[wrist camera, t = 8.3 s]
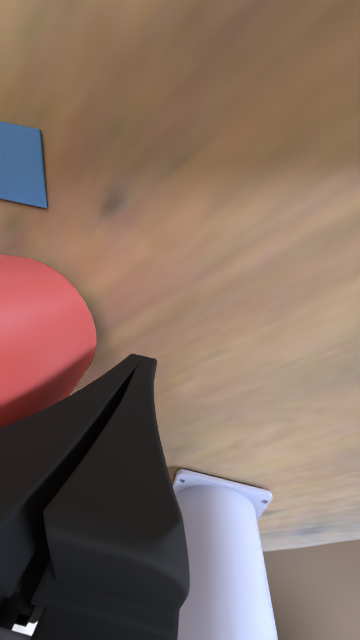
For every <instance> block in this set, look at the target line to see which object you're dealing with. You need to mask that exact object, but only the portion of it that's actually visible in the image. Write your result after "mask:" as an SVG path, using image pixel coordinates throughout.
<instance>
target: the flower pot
mask: <svg viewBox="0 0 360 640" xmlns="http://www.w3.org/2000/svg"><path fill="white" fill-rule="evenodd" d="M96 344H97V337H96V330H95V325H94V322H93V318H92V316H91V313H90V311H89V309H88V307H87V305H86V303H85V302H84V300H83V299H82V297H81V296H80V294H79V293H78V291H77V290H76V289H75V288H74V287H73V286H72V284H71V283H70V282H69V281H68V280H67V279H66V278H65V277H63V276H62V275H61V274H60V273H58V272H57V271H56V270H54V269H53V268H51V267H50V266H48V265H46V264H44V263H41V262H39V261H36V260H33V259H30V258H26V257H18V256H9V255H1V254H0V428H1V427H4V426H6V425H9V424H11V423H14V422H16V421H18V420H21V419H23V418H26V417H28V416H30V415H32V414H34V413H37V412H39V411H41V410H43V409H45V408H47V407H49V406H51V405H53V404H55V403H58V402H59V401H61V400H63V399H65V398H67V397H68V396H69V395H70V393H71V392H72V390H73V389H74V388H75V386H76V385H77V383H78V382H79V380H80V379H81V377H82V376H83V374H84V373H85V371H86V370H87V368H88V367H89V366H90V364H91V362H92V360H93V358H94V355H95V349H96Z"/></svg>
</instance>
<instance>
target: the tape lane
mask: <svg viewBox="0 0 360 640" xmlns="http://www.w3.org/2000/svg"><path fill="white" fill-rule="evenodd" d="M0 199H5V200H10V201H14V202H19V203H24V204H28V205H33V206H38V207H43V208H47V200H46V188H45V175H44V163H43V150H42V138H41V130H39V129H35V128H30V127H25V126H20V125H15V124H10V123H5V122H0Z"/></svg>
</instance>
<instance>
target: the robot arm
mask: <svg viewBox="0 0 360 640" xmlns="http://www.w3.org/2000/svg"><path fill="white" fill-rule="evenodd" d="M156 365H157V360H156V359H154V358H149V357H145V356H141V355H136V354H131V355H129V356H128V357H127V358H125V359H124V360H123V361H122V362H120V363H119V364H118V365H116V366H115V367H114V368H112V369H111V370H109V371H108V372H107V373H105V374H104V375H102V376H101V377H100V378H98V379H97V380H95V381H93V382H92V383H90V384H89V385H87V386H86V387H84V388H82V389H81V390H79V391H77V392H76V393H74V394H72V395H71V396H69V397H67V398H65V399H63V400H61V401H59V402H58V403H55V404H53V405H51V406H49V407H47V408H45V409H43V410H41V411H39V412H37V413H34V414H32V415H30V416H28V417H26V418H23V419H21V420H18V421H16V422H14V423H11V424H9V425H6V426H4V427H1V428H0V640H278V638H277V632H276V627H275V621H274V615H273V610H272V604H271V598H270V592H269V587H268V582H267V575H266V570H265V564H264V558H263V553H262V547H261V541H260V536H259V530H258V524H257V519H258V518H259V517H260V515H261V514H262V512H263V511H264V510H265V508H266V507H267V506H268V504H269V503H270V502H271V500H272V494H271V492H270V491H268V490H265V489H261V488H257V487H253V486H249V485H245V484H241V483H237V482H233V481H229V480H225V479H221V478H217V477H213V476H209V475H205V474H201V473H197V472H193V471H189V470H185V469H180V470H178V471H177V474H176V477H175V480H174V483H173V486H172V483H171V479H170V476H169V472H168V469H167V466H166V462H165V458H164V454H163V450H162V445H161V441H160V437H159V431H158V426H157V420H156V413H155V404H154V377H155V371H156ZM36 622H38V623H37V625H36V627H35V629H34V632H33V634H32V636H30V635H27V634H23V633H20V632H16V631H13V630H12V628H13V626H14V624H17V625H20V626H24V627H26V626H27V624H28V623H33V624H35V623H36Z"/></svg>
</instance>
